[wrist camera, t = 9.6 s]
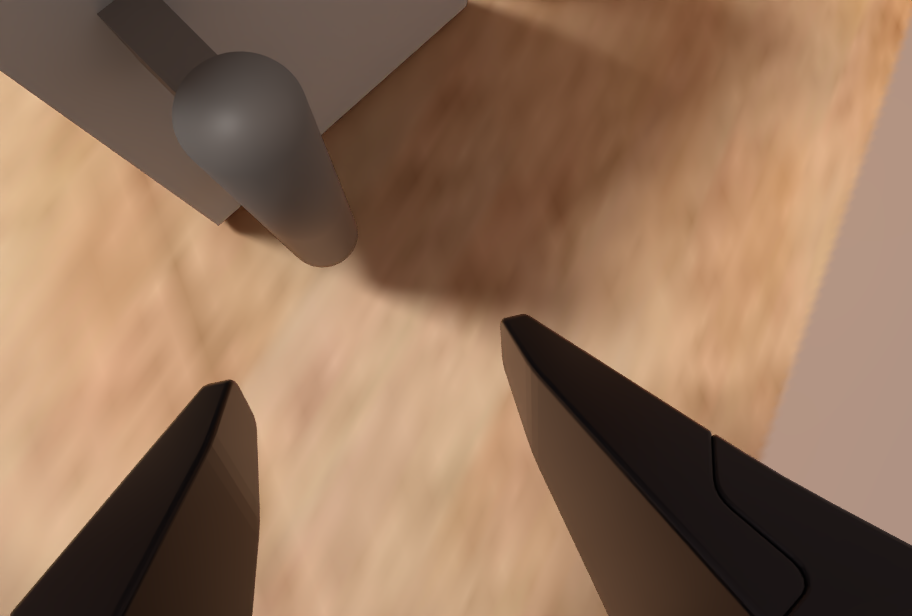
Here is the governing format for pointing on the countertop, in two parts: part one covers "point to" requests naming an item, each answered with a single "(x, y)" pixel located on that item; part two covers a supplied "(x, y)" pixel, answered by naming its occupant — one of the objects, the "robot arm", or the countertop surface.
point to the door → (222, 94)
